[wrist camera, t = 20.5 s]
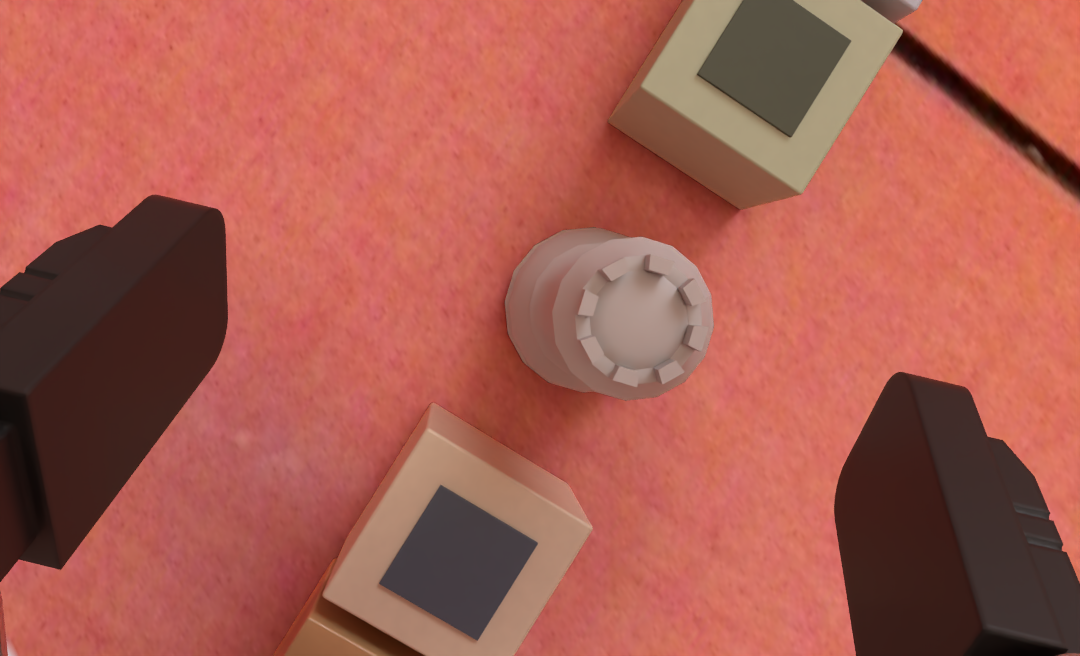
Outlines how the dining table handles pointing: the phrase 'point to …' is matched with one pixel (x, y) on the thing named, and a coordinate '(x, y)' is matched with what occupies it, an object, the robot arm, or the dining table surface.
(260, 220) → the dining table surface
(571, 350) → the rook chess piece
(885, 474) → the robot arm
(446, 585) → the block
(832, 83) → the block
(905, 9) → the block
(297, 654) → the block
